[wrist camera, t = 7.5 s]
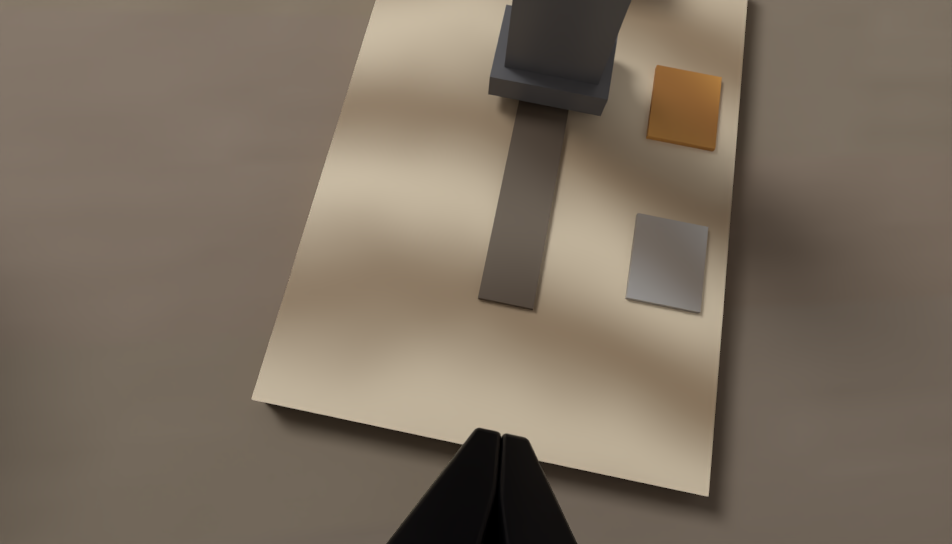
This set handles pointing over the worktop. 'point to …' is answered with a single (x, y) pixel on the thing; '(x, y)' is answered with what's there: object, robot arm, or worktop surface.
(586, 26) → the dark grey tall block
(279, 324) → the switch panel
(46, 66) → the worktop surface
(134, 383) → the worktop surface
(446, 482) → the robot arm
